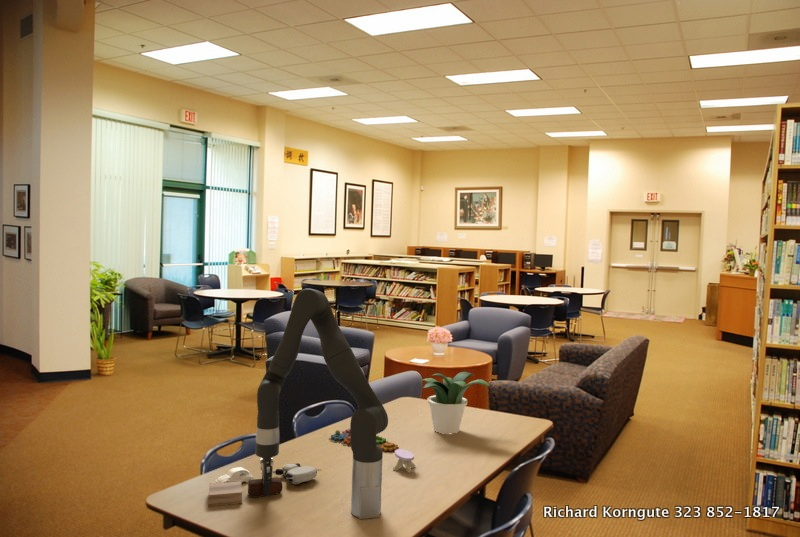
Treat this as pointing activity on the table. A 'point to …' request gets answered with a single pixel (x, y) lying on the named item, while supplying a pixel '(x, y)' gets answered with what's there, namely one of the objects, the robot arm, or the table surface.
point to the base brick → (225, 493)
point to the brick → (257, 487)
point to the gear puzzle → (345, 440)
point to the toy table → (404, 459)
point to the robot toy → (297, 473)
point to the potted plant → (449, 401)
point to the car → (235, 476)
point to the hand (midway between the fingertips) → (265, 490)
